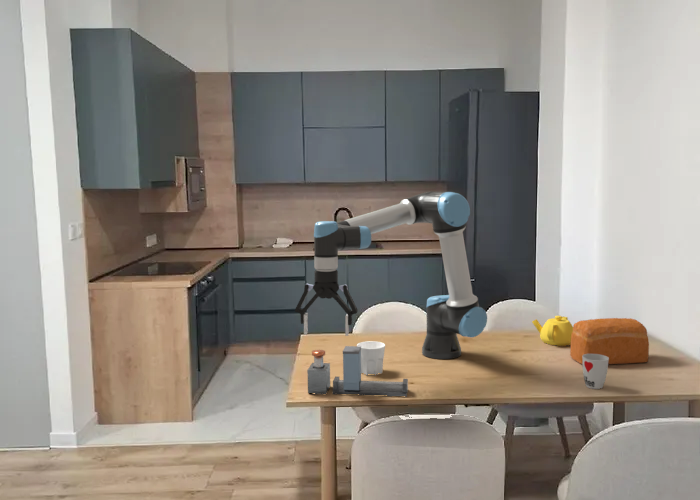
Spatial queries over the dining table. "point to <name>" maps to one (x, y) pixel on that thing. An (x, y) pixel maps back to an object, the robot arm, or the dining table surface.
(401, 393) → the rail
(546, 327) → the teapot
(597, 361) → the cup
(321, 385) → the gauge cabinet
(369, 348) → the cup
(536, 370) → the dining table surface
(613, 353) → the bread
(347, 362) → the grey rectangular block
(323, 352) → the plunger
